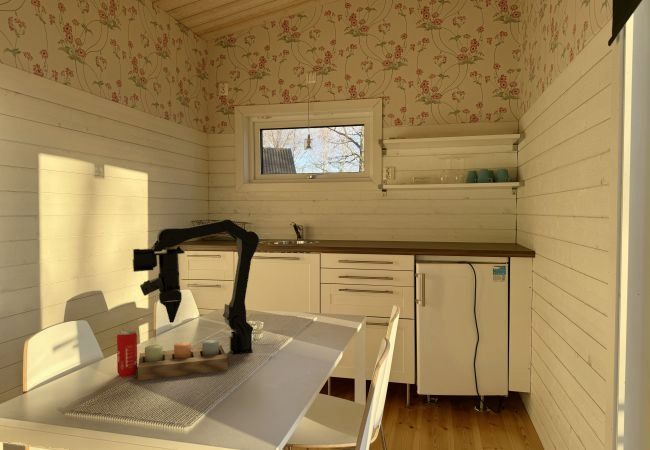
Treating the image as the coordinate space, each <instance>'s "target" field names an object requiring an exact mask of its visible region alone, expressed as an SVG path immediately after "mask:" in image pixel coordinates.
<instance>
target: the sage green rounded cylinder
mask: <svg viewBox="0 0 650 450" xmlns="http://www.w3.org/2000/svg"><path fill="white" fill-rule="evenodd" d="M201 345H202V346H201V347H202V356H203V357H204V356H213V355H219V346H220V341H219V340H217V339H207V340H203V341H202V342H201Z"/></svg>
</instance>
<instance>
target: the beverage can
mask: <svg viewBox="0 0 650 450" xmlns="http://www.w3.org/2000/svg"><path fill="white" fill-rule="evenodd" d="M116 356H117V357H116V358H117V361H116V363H117V364H116V365H117V367H116V368H117V375H118V377H120V378H131V377H133V376H136V374H137V373H138V334H137V331H136V330H133V329H132V330H131V329H130V330H129V329H128V330H122V331H118V332H117V335H116Z"/></svg>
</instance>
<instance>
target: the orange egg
mask: <svg viewBox="0 0 650 450" xmlns="http://www.w3.org/2000/svg"><path fill="white" fill-rule="evenodd" d="M173 347H174V348H173V350H174V359H184V358H191V348H192V343H191V342H188V341H187V342H185V341H183V342H178V343H175V344H174V345H173Z"/></svg>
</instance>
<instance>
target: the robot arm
mask: <svg viewBox="0 0 650 450" xmlns="http://www.w3.org/2000/svg"><path fill="white" fill-rule="evenodd" d="M220 233H226V234H227V235H229V237H231V238H232V239H233V240H236V251H237V252H236V253H237V264H236V270H235V274H234V275H235V276H234V281H233V289H232V296H231V299H230V301H229V303H228V304H227V303H225V304H224V309H223V310H224V311H223V314H222V317H223V319H224V323H225V324H226V326H228V327H229V328H230V329H231V331H230V335H229V337H228V338H229V339H228V340H229V342H228V343H229V350H230V351H231V353H232V354H233V355H235V354H236V355H237V354H246V353H253V352H254V350H253V347H252V346H253V345H252V342H253V341H252V340H253V339H252V336H253V330H254V327H253V326H252V325H251V324H250V323H248V321H247V310H246V309H247V308H246V295H247V289H248V282H249V276H250V271H251V264H252V260H253V257H254V255H255V253H256V251H257V248H258V245H259V242H260V238H259V236H258V234H257V233H256V232H254V231H251V230H246V229H245V228H244V227H241V226H240V225H239V224H236V223H235V222H233V221H232V220H231V219H228V218H227V219H225V218H224V219H221V220H218V221H214V222H213V221H212V222H209V223H203V224H198V225H194V226H188V227H167V228H161V229H160V230H159V231H158V232H157V236H156V241H155V242H154V244H153V245H152V247H150V248H133V250H132V252H133V253H132V257H133V258H132V271H133V272H134V273H135V272H136V273H137V272H138V273H139V272H149V271H150V272H151V271H154V268H156V267H159V268H158V269H159V273H158V275H157V277H155V278H152V279H151V280H150V279H148V280H146V281H143V283H142V284H140V285H139V288H140V290H141V292H142V294H143V296H148V295H149V294H150V293H153V292H155V291H157V290H158V291H159V293H158V300H159V303H160V304H161V305H163V306H164V307H165V311H166V313H167V317H168V321H169V323H170V324H171V323H174V322H175V319H176V317H177V314H178V310H179V308H180V304H181V303H182V298H183V297H182V296H183V295H182V291H181V285H180V268H179V267H180V266H179V265H180V263H179V255H181V254H182V255H183V254H185V253H186V252H185V251H184V250H183V249H182V248H181V247H180V245H181V244H183V243H185V242H186V241H189V240H192V239H193V240H194V239H197V238H201V237H206V236H212V235H215V234H220ZM175 246H176V247H175ZM173 247H175V248H173ZM164 250H165V251H164ZM162 251H164V252H162Z"/></svg>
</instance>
